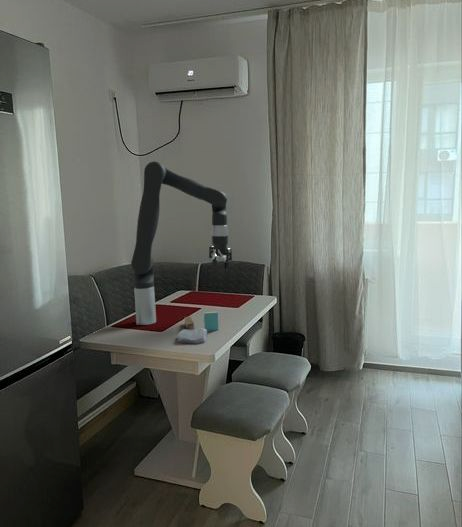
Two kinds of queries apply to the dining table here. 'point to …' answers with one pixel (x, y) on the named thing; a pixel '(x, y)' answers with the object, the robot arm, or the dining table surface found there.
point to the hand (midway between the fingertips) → (220, 268)
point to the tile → (211, 321)
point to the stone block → (193, 336)
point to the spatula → (189, 323)
